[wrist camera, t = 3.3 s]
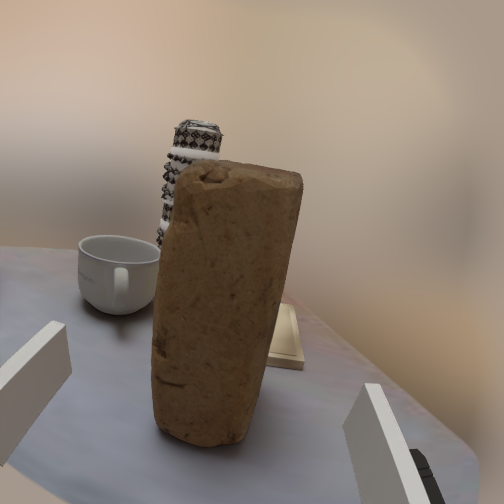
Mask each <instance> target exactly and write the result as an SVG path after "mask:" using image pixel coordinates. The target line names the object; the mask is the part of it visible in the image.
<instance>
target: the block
mask: <svg viewBox="0 0 504 504" xmlns="http://www.w3.org/2000/svg"><path fill="white" fill-rule="evenodd" d="M302 194H303V181H302V177H301V175H300V174H299V173H296V172H290V171H285V170H281V169H274V168H268V167H263V166H258V165H253V164H242V163H238V162H232V161H228V160H218V161H215V160H208V159H205V160H202V161H195V162H193V163H191V164H190V165H188V166H187V167H185V168H184V169H183V170H182V171H181V172H180V174H179V176H178V178H177V180H176V182H175V187H174V202H173V209H172V212H171V215H170V223H169V226H168V228H167V230H166V232H165V233H164V235H163V240H162V246H161V252H160V257H159V272H158V275H157V283H156V291H155V296H154V318H153V337H152V357H151V367H152V370H151V385H152V399H153V410H154V417H155V421H156V424H157V425H158V426H159V427H160V428H161V429H162V430H164V431H165V432H167V433H170V434H171V435H173V436H175V437H176V438H178V439H180V440H183V441H185V442H188V443H191V444H194V445H197V446H201V447H214V446H216V445H222V444H235V443H238V442H239V441H241V440H242V439H243V438H244V437H245V435H246V432H247V429H248V427H249V424H250V421H251V418H252V415H253V411H254V408H255V405H256V401H257V398H258V396H259V392H260V387H261V383H262V379H263V375H264V371H265V367H266V363H267V358H268V354H269V350H270V346H271V342H272V338H273V334H274V330H275V325H276V321H277V316H278V312H279V307H280V302H281V297H282V293H283V289H284V284H285V280H286V274H287V269H288V264H289V258H290V253H291V248H292V243H293V239H294V235H295V230H296V226H297V221H298V215H299V211H300V205H301V200H302Z"/></svg>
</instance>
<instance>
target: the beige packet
mask: <svg viewBox="0 0 504 504" xmlns="http://www.w3.org/2000/svg"><path fill="white" fill-rule="evenodd" d="M304 362H305V361H304V356H303V351H302V346H301V340H300V335H299V330H298V325H297V320H296V315H295V310H294V306H293V305H287V304H281V303H280V307H279V312H278V316H277V321H276V325H275V330H274V334H273V338H272V342H271V346H270V350H269V354H268V358H267V363H266V365H269V366H275V367H282V368H290V369H297V370H302V368H303V365H304Z"/></svg>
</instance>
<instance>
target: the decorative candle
mask: <svg viewBox="0 0 504 504" xmlns="http://www.w3.org/2000/svg"><path fill="white" fill-rule="evenodd" d="M175 129H176V131H175V136H174V143H173V147H171V152H170V153H169V154H168V155H167V157H168V158H170V159H171V162H168V163H166V164H165V165H164V168H165V169H166V170H167V172H166V173H165V174H164V175H163V178H164V179H165V180H166V181H167V184H165V185H163V187H162V191H164V194H163V195H162V197H161V198H162V201H163V202H164V208H163V216H162V218H161V222H160V228H159V229H158V230H157V232H158V234H159V235H160V236H159V237H158V238H157V239H156V241H157V242H158V244H159V246H157V247H158V248H159V249H160V250H161V246H162V240H163V235H164V233H165V232H166V230H167V228H168V226H169V223H170V215H171V212H172V209H173V202H174V187H175V182H176V180H177V178H178V176H179V174H180V172H181V171H182V170H183V169H184V168H185V167H187V166H188V165H190V164H191V163H193V162H195V161H202V160H205V159H208V160H215V161H218V160H219V157H220V154H219V151H220V145H221V140H222V136H223V135H222V134H221V132H220V130H219V127H218V126H217V125H216V124H213V123H209V122H204V121H198V120H184V121H182V122H181V123H180V125H179V126H178V127H176V128H175Z"/></svg>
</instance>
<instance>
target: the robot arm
mask: <svg viewBox="0 0 504 504" xmlns="http://www.w3.org/2000/svg"><path fill="white" fill-rule="evenodd" d="M71 373H72V368H71V362H70V356H69V349H68V341H67V333H66V325H65V324H62V323H59V322H56V321H53V320H52V321H51V322H50V323H49V324H47V325H46V326H45V327H44V328H43V329H42V330H41V331H39V332H38V333H37V334H36V335H35V336H34V337H33V338H32V339H31V340H29V341H28V342H27V343H26V344H25V345H24V346H23V347H22V348H21V349H20V350H19V351H17V352H16V353H15V354H14V355H13V356H12V357H11V358H10V359H9V360H8V361H7V362H6V363H5V364H4V365H3V366H2V367H0V466H2V467H3V465H4V464H5V462H6V461H7V459H8V458H9V457H10V455H11V454H12V452H13V451H14V449H15V448H16V446H17V445H18V444H19V442H20V441H21V439H22V438H23V437H24V435H25V434H26V432H27V431H28V430H29V428H30V427H31V426H32V424H33V423H34V421H35V420H36V419H37V417H38V416H39V415H40V413H41V412H42V411H43V409H44V408H45V407H46V405H47V404H48V403H49V401H50V400H51V399H52V398H53V396H54V395H55V394H56V392H57V391H58V390H59V389H60V387H61V386H62V385H63V383H64V382H65V381H66V380H67V378H68V377H69V376H70V375H71ZM343 429H344V433H345V437H346V440H347V444H348V448H349V452H350V456H351V460H352V464H353V468H354V472H355V476H356V481H357V485H358V489H359V493H360V497H361V502H362V504H445V502H444V499H443V497H442V494H441V492H440V490H439V487H438V485H437V483H436V480H435V478H434V477H433V473H432V471H431V469H429V468H430V467H429V464H428V462H427V460H426V458H425V456H424V455H423V454H422V453H421V452H420V451H419V450H418V449H408V447H407V444H406V442H405V440H404V437H403V435H402V433H401V430H400V428H399V426H398V424H397V421H396V419H395V417H394V415H393V412H392V410H391V408H390V406H389V404H388V401H387V399H386V397H385V395H384V393H383V391H382V388H381V386H380V384H367V383H364V385H363V387H362V389H361V391H360V393H359V395H358V397H357V399H356V401H355V403H354V405H353V407H352V409H351V411H350V413H349V415H348V417H347V419H346V421H345V423H344V424H343Z"/></svg>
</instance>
